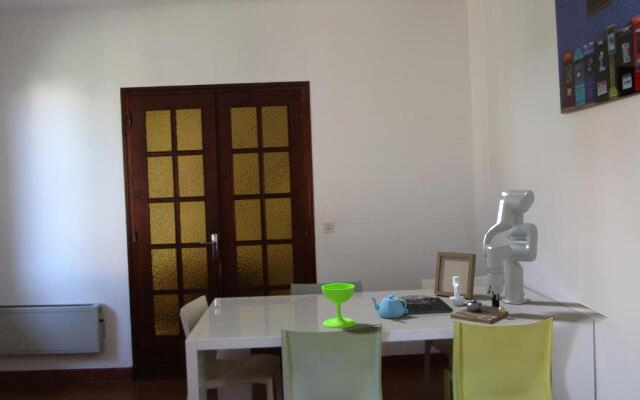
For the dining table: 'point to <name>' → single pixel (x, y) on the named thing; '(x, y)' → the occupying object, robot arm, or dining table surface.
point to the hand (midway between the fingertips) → (495, 307)
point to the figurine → (457, 293)
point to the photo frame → (455, 273)
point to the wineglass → (338, 303)
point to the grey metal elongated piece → (482, 307)
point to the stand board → (479, 316)
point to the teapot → (390, 307)
